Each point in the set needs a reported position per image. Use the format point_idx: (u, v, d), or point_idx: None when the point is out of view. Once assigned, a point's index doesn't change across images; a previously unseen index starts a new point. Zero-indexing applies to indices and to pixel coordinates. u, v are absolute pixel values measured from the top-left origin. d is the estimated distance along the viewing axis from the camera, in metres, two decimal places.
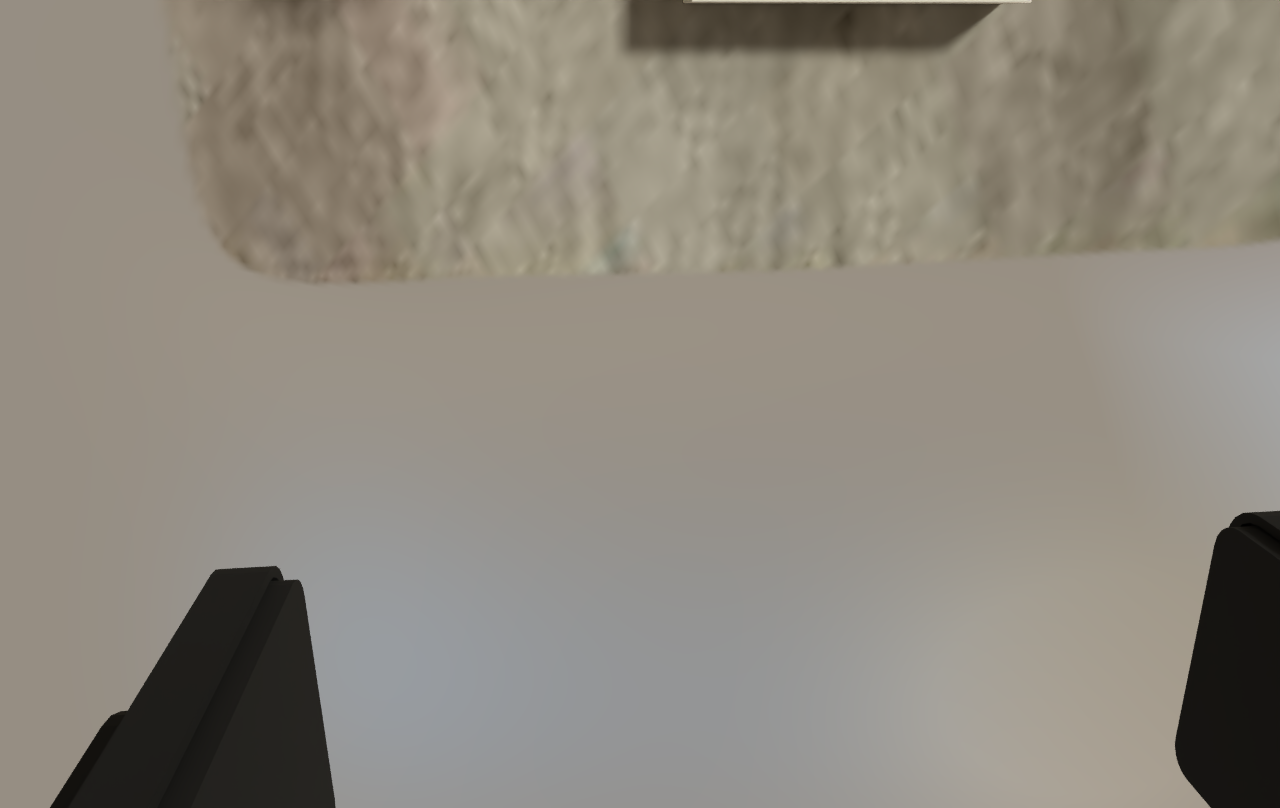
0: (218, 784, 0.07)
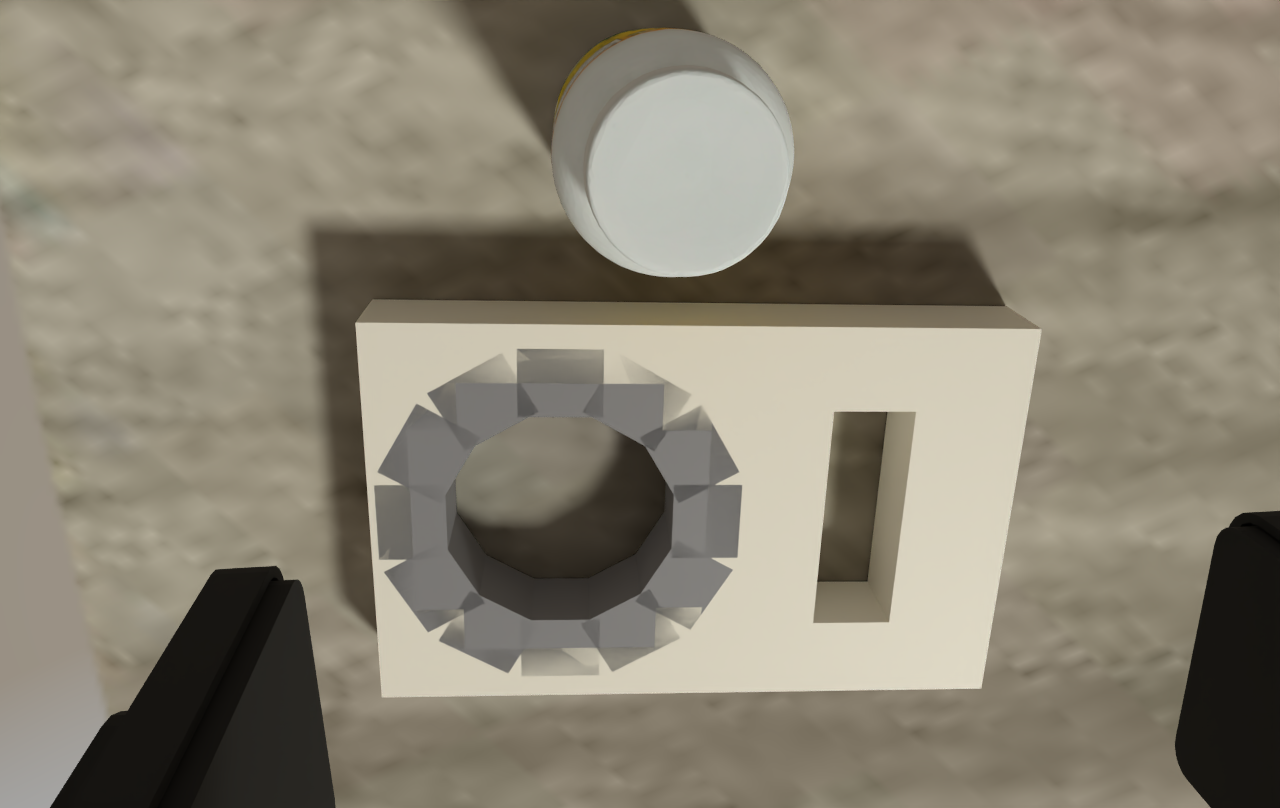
0: (218, 784, 0.07)
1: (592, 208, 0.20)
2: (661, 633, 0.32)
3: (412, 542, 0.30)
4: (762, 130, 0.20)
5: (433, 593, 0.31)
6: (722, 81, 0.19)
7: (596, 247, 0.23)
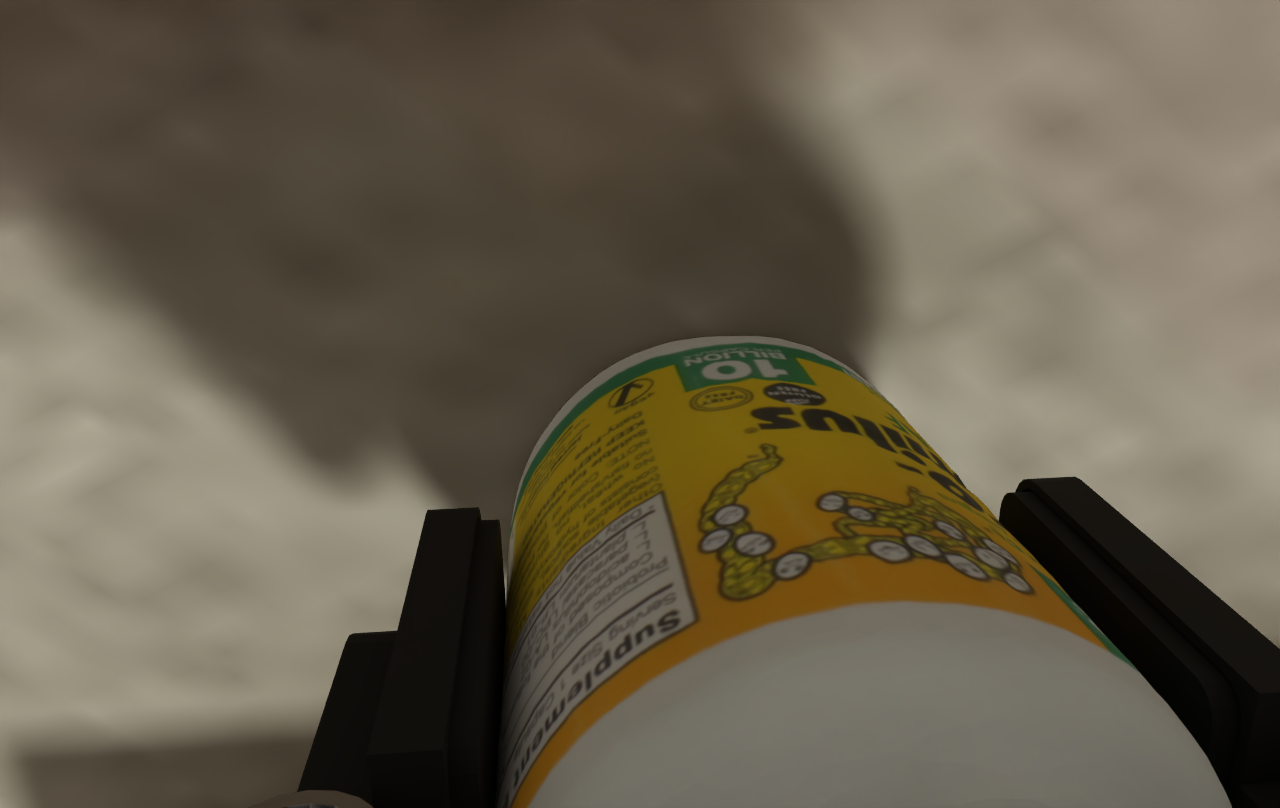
0: (486, 680, 0.08)
1: None
2: None
3: None
4: None
5: None
6: None
7: None
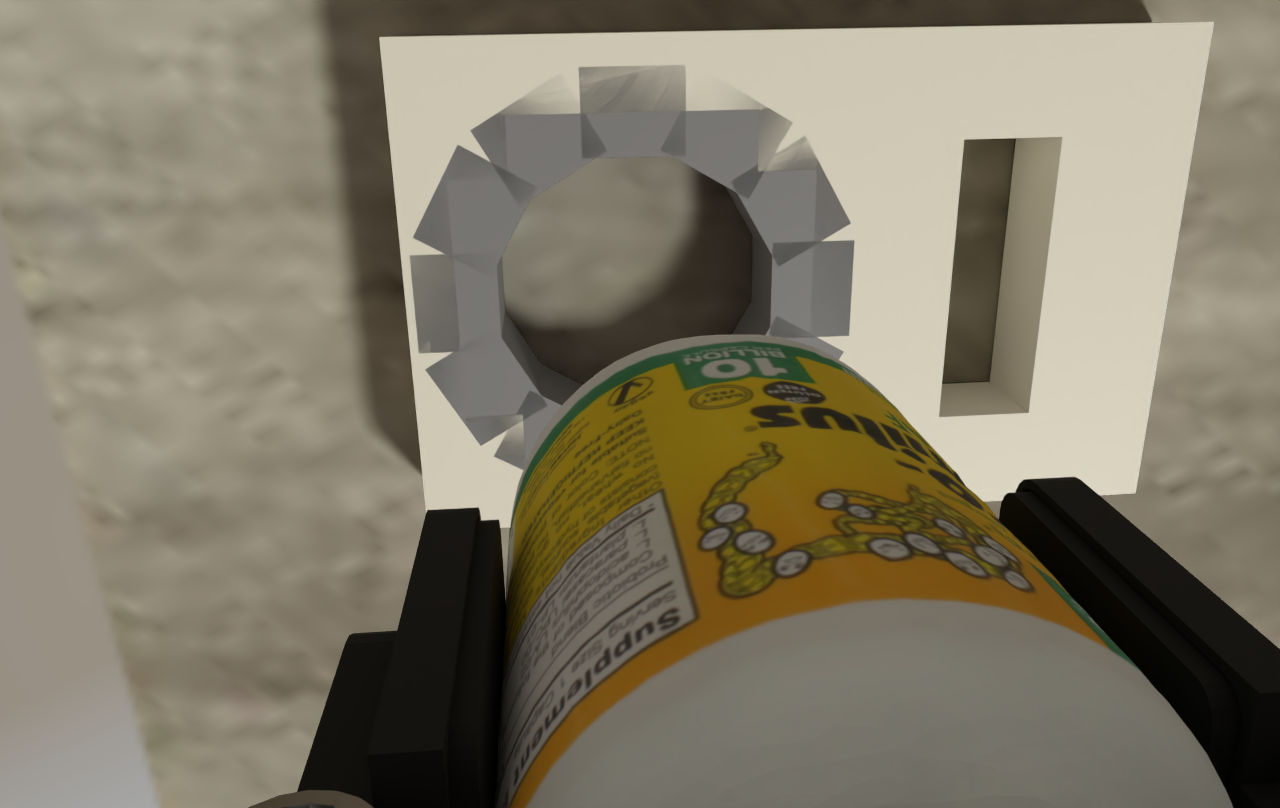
0: (486, 680, 0.08)
1: None
2: None
3: (458, 328, 0.25)
4: None
5: (485, 395, 0.25)
6: None
7: None
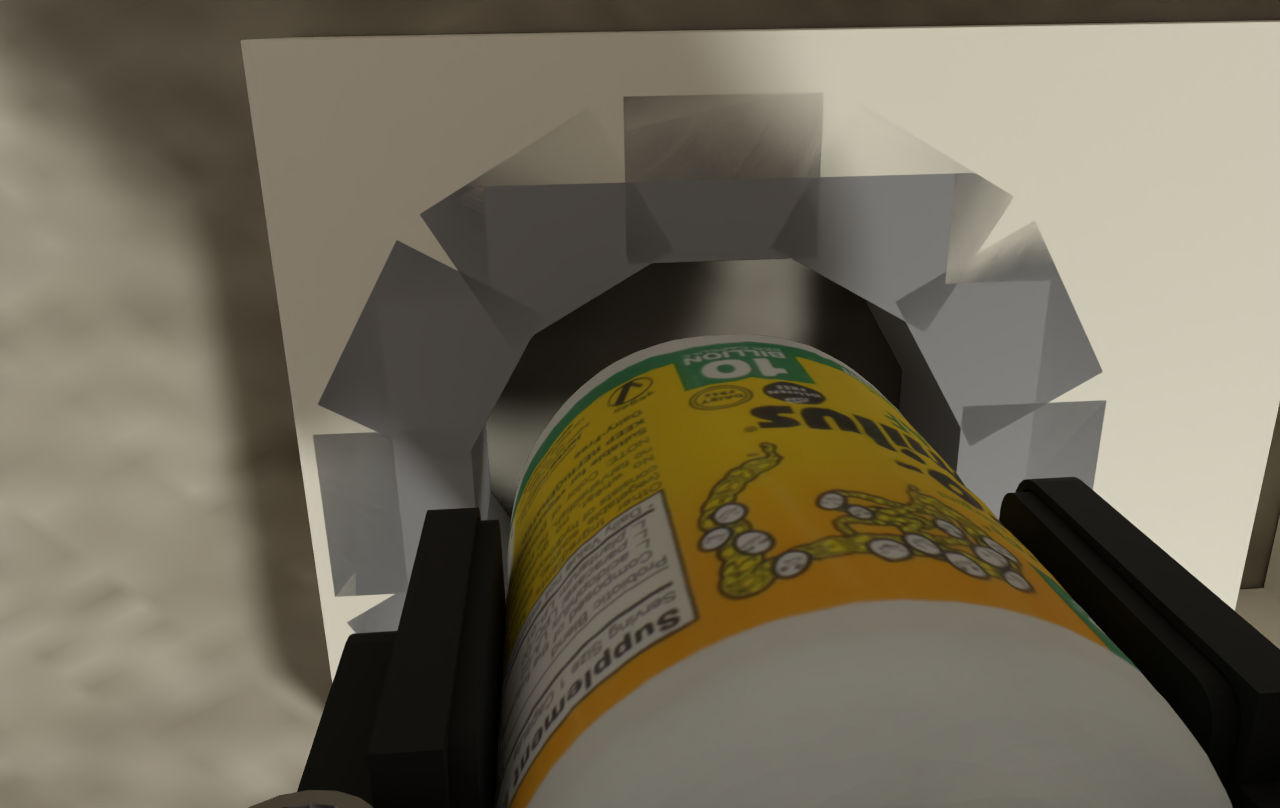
0: (486, 680, 0.08)
1: None
2: None
3: (404, 555, 0.14)
4: None
5: None
6: None
7: None
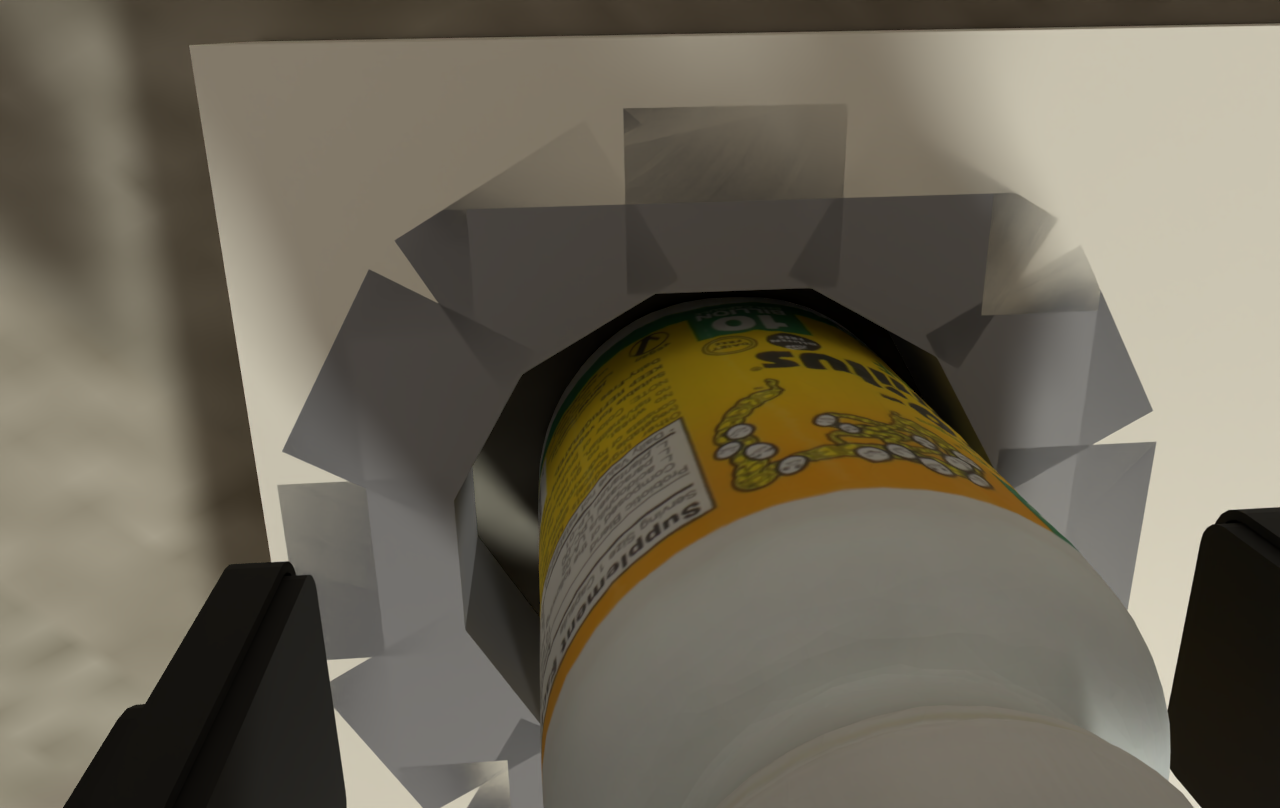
0: (236, 775, 0.07)
1: None
2: None
3: (381, 615, 0.13)
4: None
5: (436, 729, 0.13)
6: None
7: None
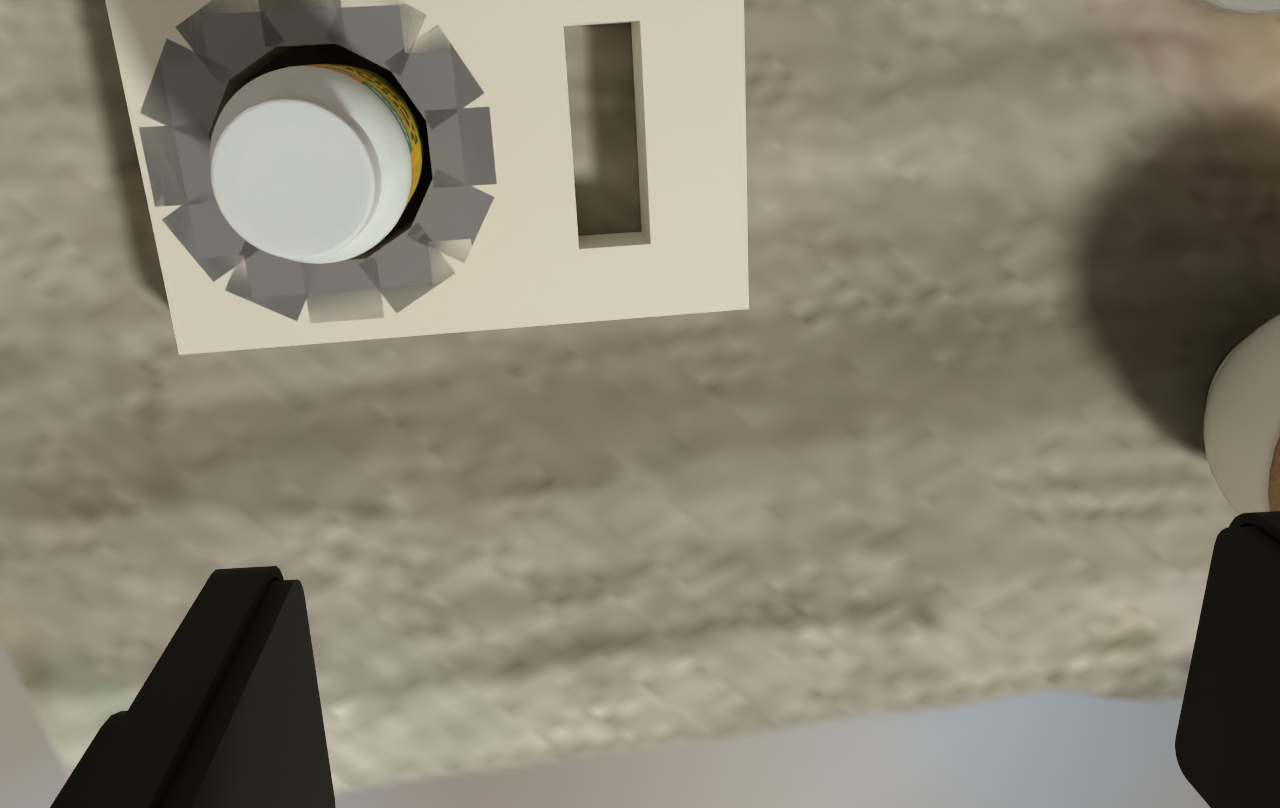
0: (218, 784, 0.07)
1: (221, 211, 0.26)
2: (436, 269, 0.34)
3: (184, 185, 0.32)
4: (344, 140, 0.25)
5: (212, 239, 0.32)
6: (304, 105, 0.25)
7: None
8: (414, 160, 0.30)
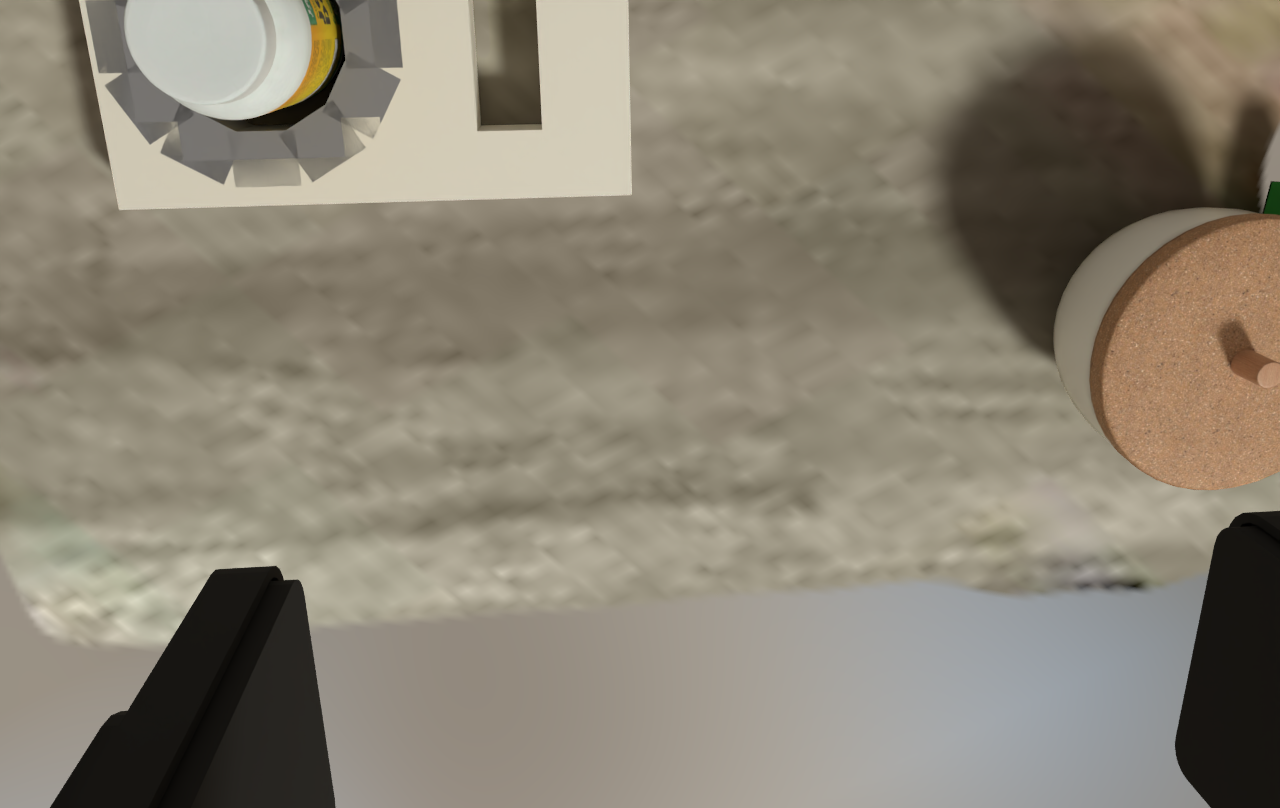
0: (218, 784, 0.07)
1: None
2: (348, 143, 0.38)
3: (124, 55, 0.36)
4: None
5: (149, 106, 0.37)
6: None
7: (174, 98, 0.32)
8: (318, 34, 0.34)
